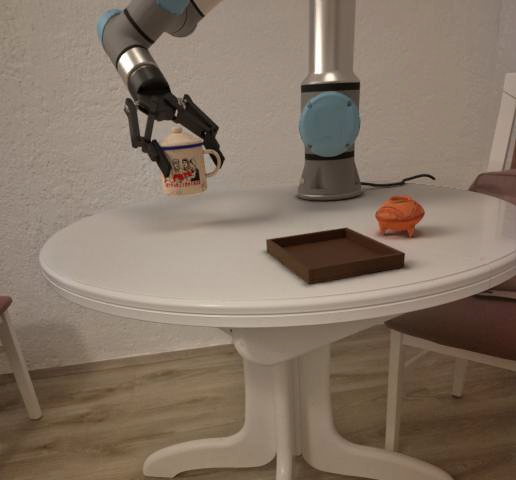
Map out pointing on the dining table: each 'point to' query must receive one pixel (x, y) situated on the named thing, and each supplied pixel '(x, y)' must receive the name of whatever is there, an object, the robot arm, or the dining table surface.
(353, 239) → the shallow tray
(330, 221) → the dining table surface
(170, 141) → the teacup with lid
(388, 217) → the pot
